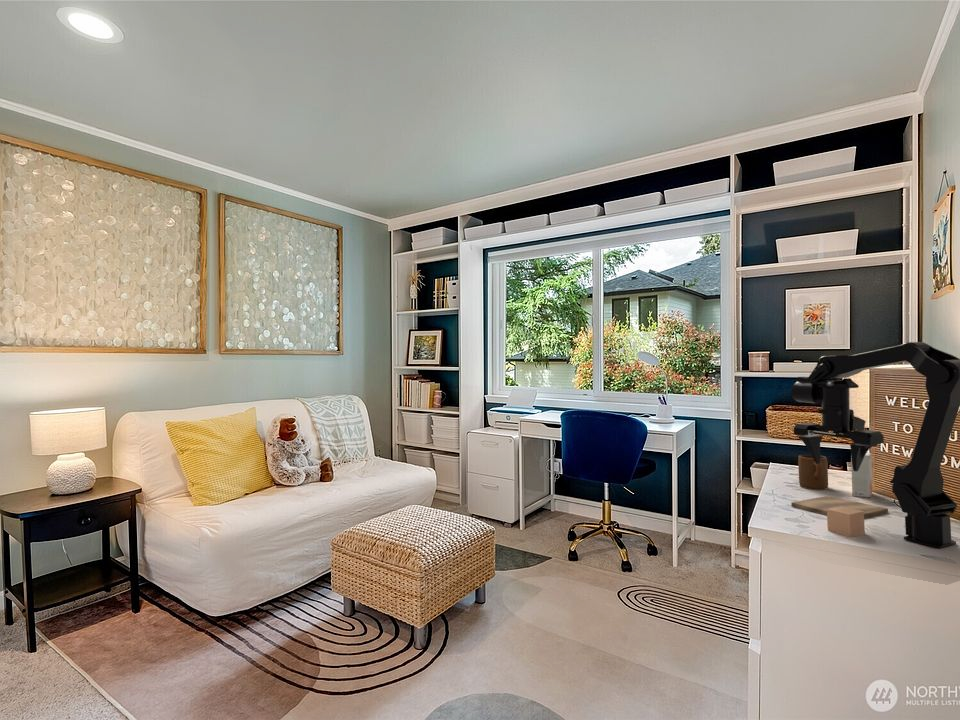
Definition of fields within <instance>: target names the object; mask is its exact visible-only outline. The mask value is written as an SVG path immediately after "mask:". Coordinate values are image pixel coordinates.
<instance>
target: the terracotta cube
mask: <svg viewBox="0 0 960 720" xmlns="http://www.w3.org/2000/svg"><path fill="white" fill-rule="evenodd" d="M826 521H827V531H829V532H832V533H835V532H836V533H837V534H839V535H844V536H846V537H850V538H852V537H855V536H859V535H863V534H866V531H865V529H866V528H865V518H864V511H860V510H855V509H851V508H847V507H842V506H839V507H834V508H829V509H827V515H826Z"/></svg>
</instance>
